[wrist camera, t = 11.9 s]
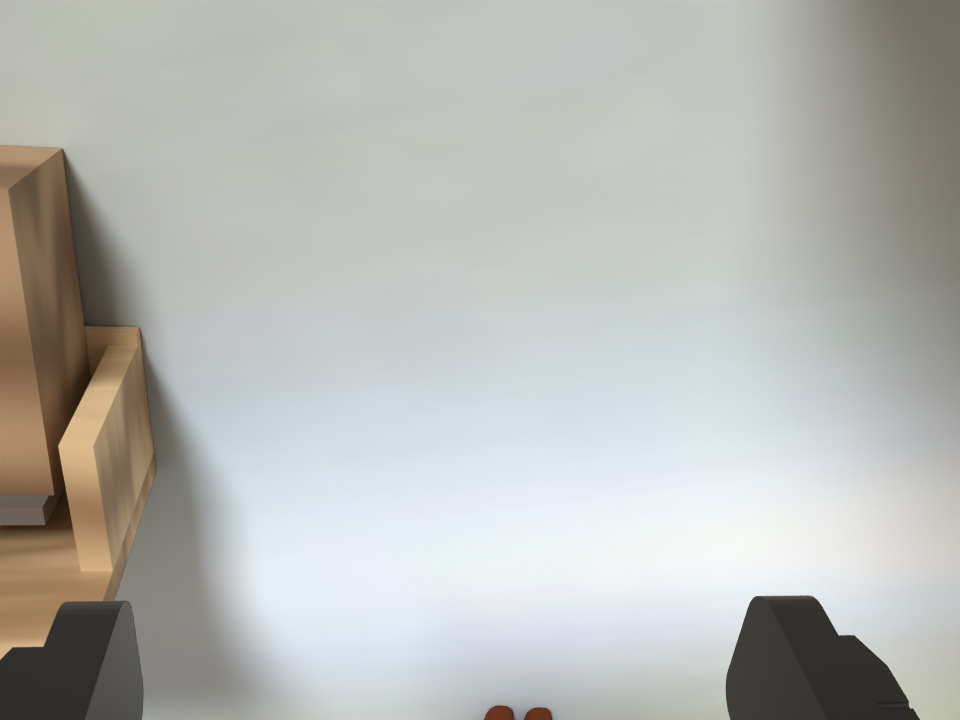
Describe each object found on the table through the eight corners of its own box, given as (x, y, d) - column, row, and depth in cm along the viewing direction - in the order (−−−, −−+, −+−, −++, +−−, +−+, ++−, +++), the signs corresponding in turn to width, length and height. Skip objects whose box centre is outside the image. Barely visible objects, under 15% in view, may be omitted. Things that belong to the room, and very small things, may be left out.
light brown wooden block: (-48, 143, 35) (-136, 191, 29) (61, 148, 36) (-2, 196, 30) (3, 434, 41) (-62, 525, 34) (97, 434, 41) (50, 525, 35)
